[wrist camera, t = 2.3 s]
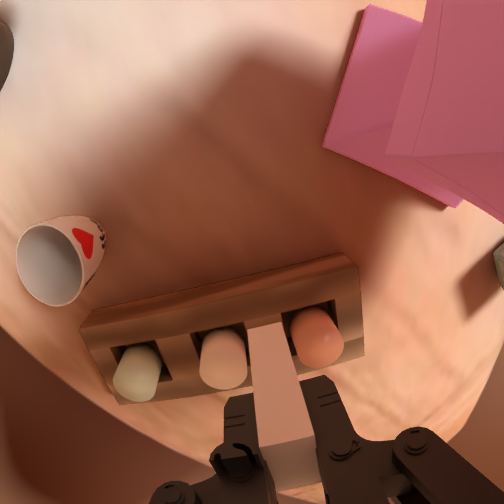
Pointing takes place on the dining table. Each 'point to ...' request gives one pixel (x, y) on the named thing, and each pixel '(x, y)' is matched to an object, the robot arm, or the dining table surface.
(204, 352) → the peach rounded knob
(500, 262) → the flower pot
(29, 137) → the dining table surface
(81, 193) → the dining table surface
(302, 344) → the button terracotta
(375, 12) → the pink table lamp
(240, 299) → the brown wooden long block
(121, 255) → the dining table surface
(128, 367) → the button sage
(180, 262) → the dining table surface
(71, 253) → the cup
